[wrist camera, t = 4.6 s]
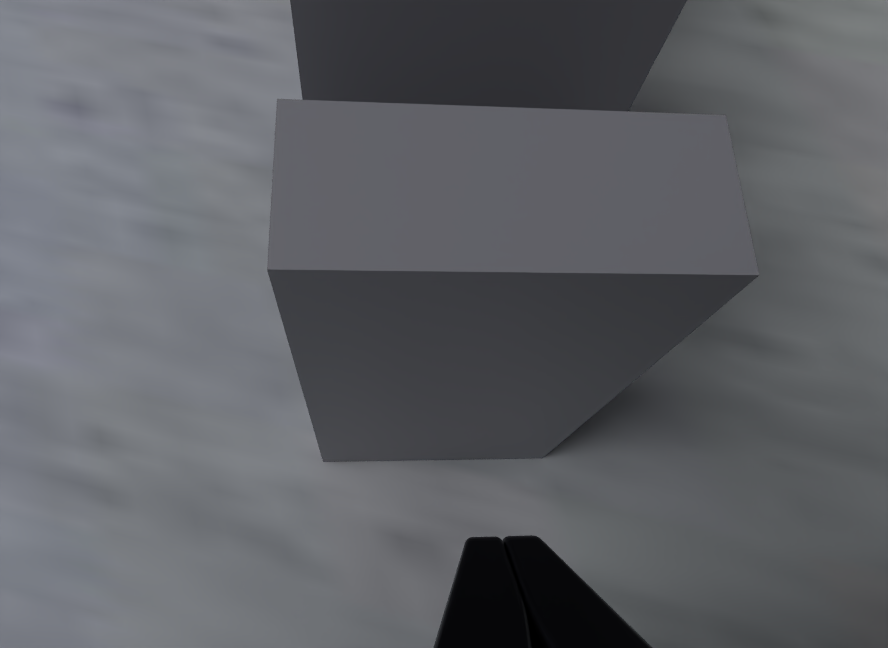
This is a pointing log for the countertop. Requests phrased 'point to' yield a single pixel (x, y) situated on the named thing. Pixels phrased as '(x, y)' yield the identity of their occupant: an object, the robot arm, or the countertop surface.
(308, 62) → the domino
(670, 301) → the domino
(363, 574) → the countertop surface
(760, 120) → the countertop surface
